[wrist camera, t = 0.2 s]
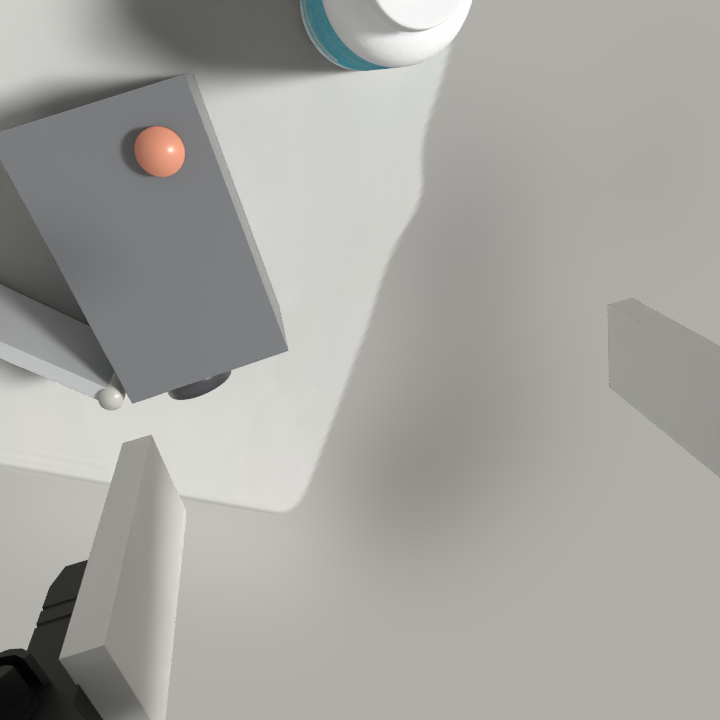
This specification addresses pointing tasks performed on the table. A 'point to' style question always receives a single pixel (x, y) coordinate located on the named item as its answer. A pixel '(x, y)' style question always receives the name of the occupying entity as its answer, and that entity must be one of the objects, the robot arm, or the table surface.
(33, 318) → the side door
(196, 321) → the camera body
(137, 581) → the robot arm
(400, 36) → the pill bottle
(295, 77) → the table surface
